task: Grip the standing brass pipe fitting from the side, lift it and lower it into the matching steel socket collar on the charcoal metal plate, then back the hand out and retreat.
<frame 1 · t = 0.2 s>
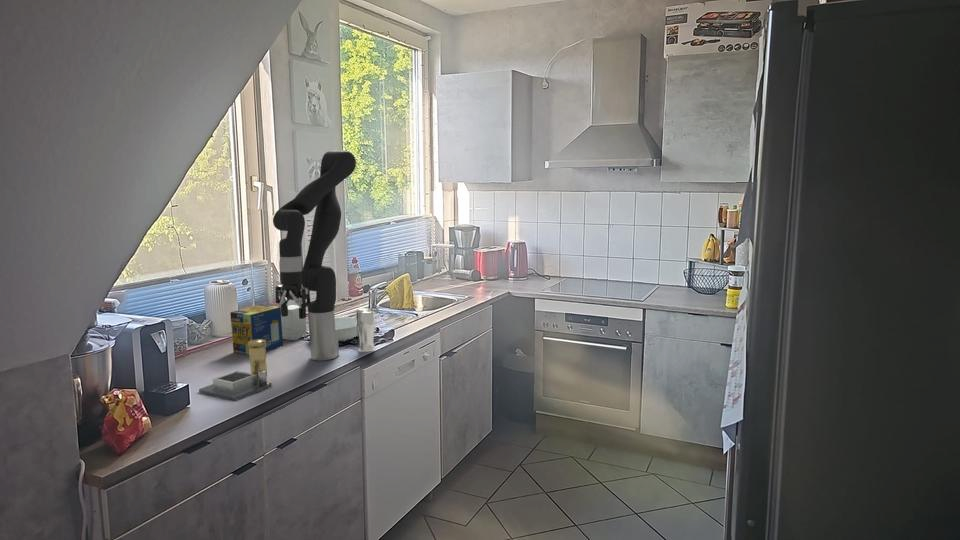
hand: (293, 317, 217), 18 cm above the worktop, tool pointing down, fingers open, 8 cm apart
supplement box: (294, 338, 259), on the worktop
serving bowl: (338, 340, 255), on the worktop
socket plate: (235, 389, 199), on the worktop
beer glass: (366, 350, 239), on the worktop
protein box: (258, 349, 243), on the worktop
brass fitting: (259, 376, 211), on the worktop
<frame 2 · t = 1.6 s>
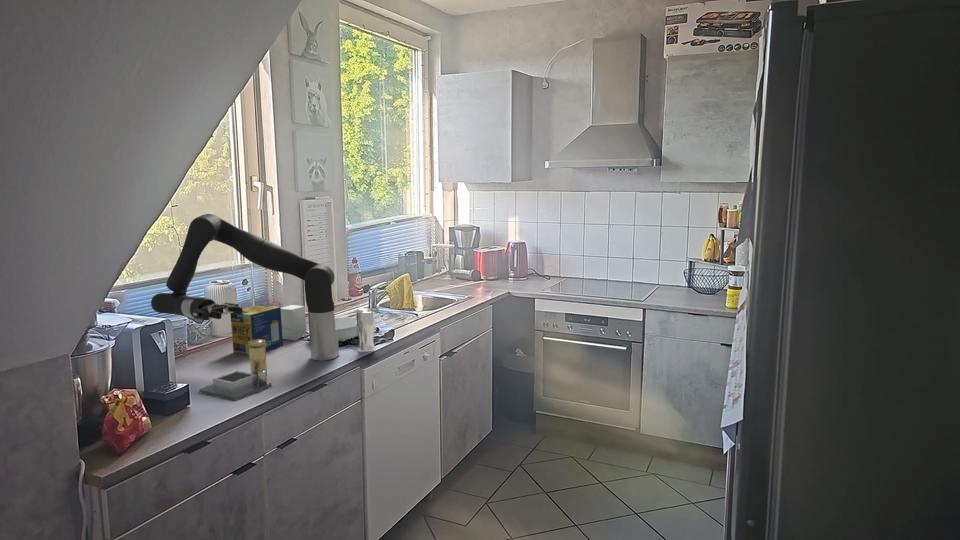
hand: (231, 313, 213), 20 cm above the worktop, tool horizontal, fingers open, 8 cm apart
nothing on the worktop moved.
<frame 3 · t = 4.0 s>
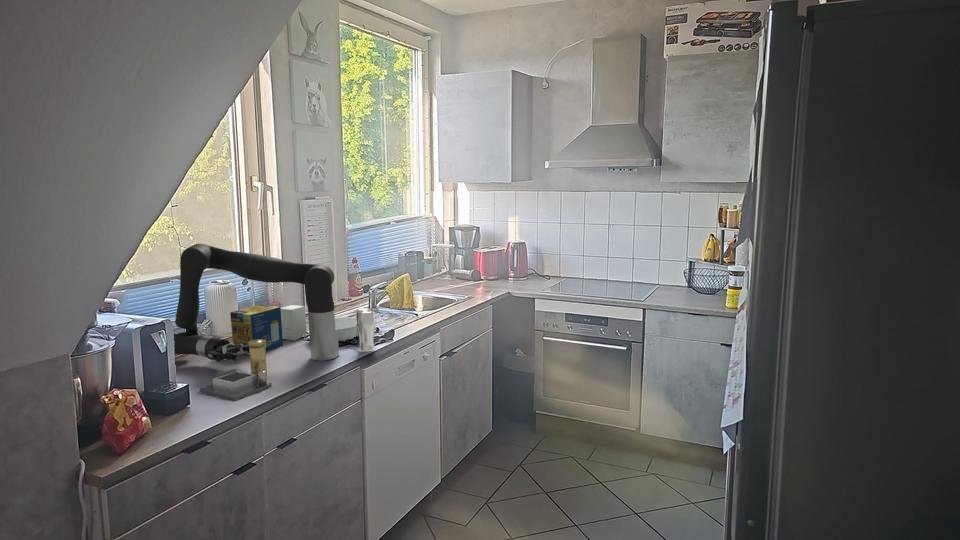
hand: (245, 353, 213), 7 cm above the worktop, tool horizontal, fingers open, 8 cm apart
nothing on the worktop moved.
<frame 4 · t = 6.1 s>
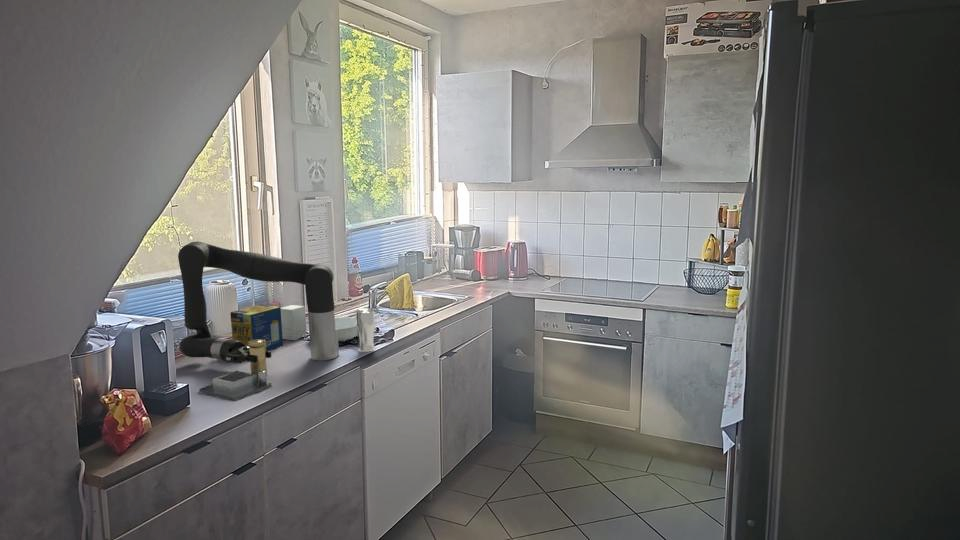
hand: (263, 357, 208), 7 cm above the worktop, tool horizontal, fingers closed on brass fitting, 5 cm apart
brass fitting: (259, 376, 211), on the worktop, touching gripper
everything else where it was.
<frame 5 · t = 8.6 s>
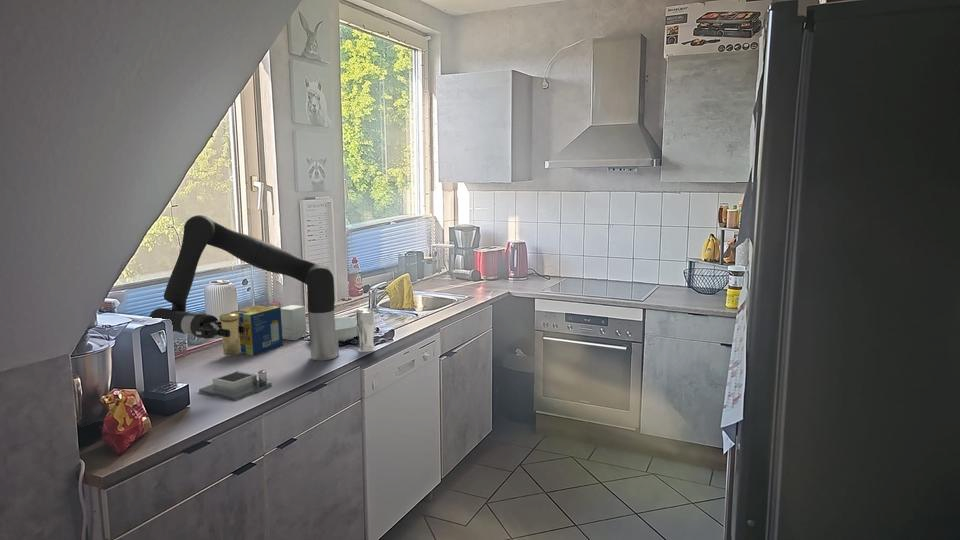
hand: (236, 331, 195), 19 cm above the worktop, tool horizontal, fingers closed on brass fitting, 5 cm apart
brass fitting: (232, 352, 197), point 12 cm above the worktop, touching gripper
everything else where it was.
when the fingers open (9 cm above the worktop, at t = 11.2 s): brass fitting drops 1 cm, resting on socket plate.
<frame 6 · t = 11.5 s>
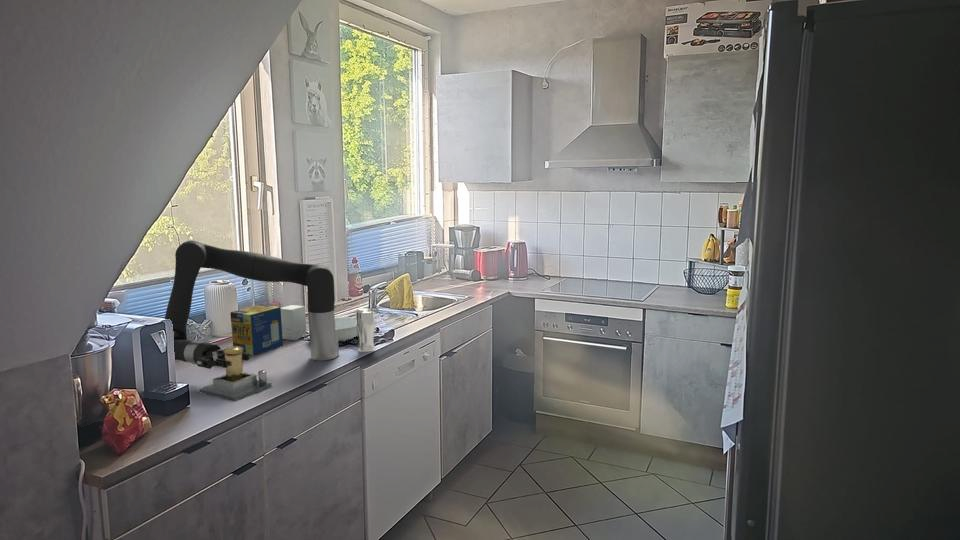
hand: (237, 360, 197), 10 cm above the worktop, tool horizontal, fingers open, 7 cm apart
brass fitting: (235, 386, 199), point 1 cm above the worktop, touching socket plate
everything else where it was.
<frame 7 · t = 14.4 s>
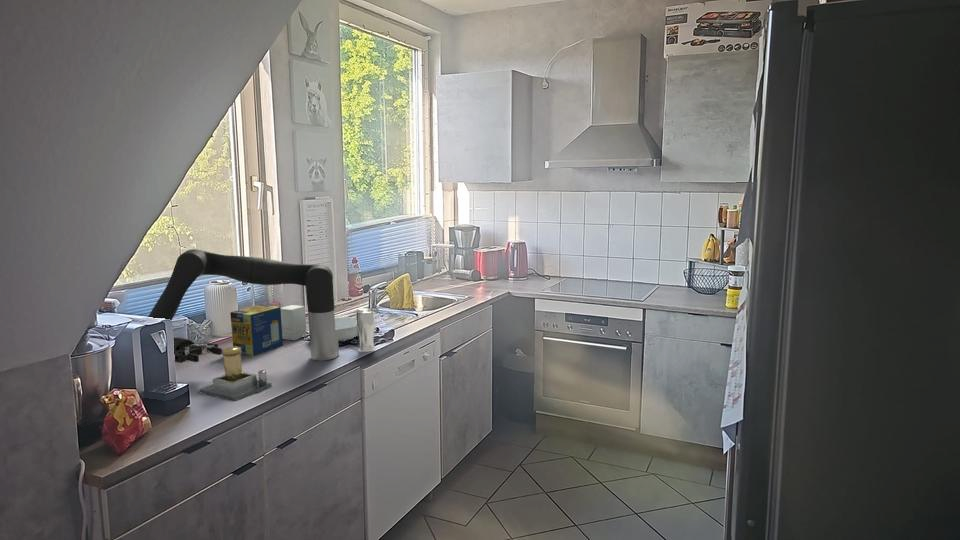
hand: (209, 355, 203), 10 cm above the worktop, tool horizontal, fingers open, 8 cm apart
nothing on the worktop moved.
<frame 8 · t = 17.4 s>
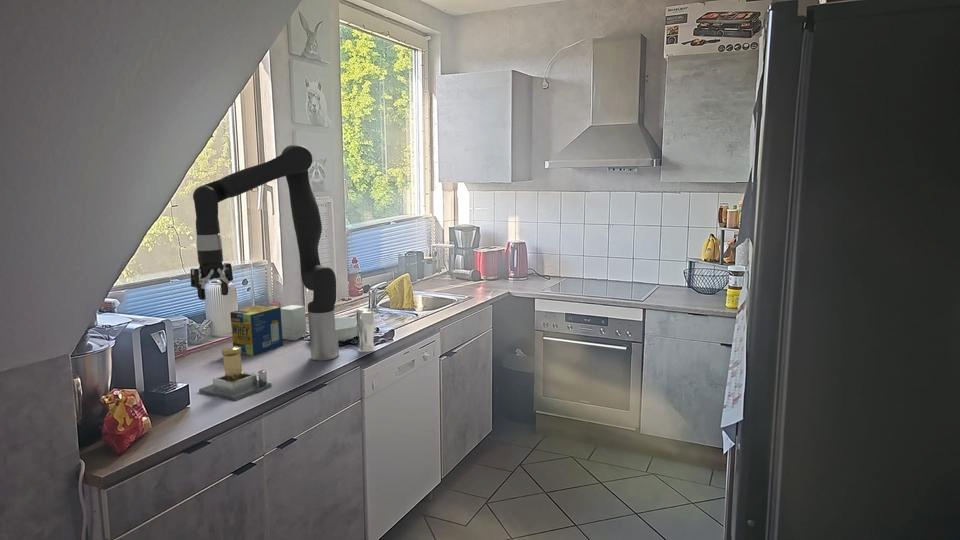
hand: (213, 297, 210), 26 cm above the worktop, tool pointing down, fingers open, 8 cm apart
nothing on the worktop moved.
at the end: brass fitting 0.1 cm off-centre on the socket plate, point 1.1 cm above the socket plate's base; brass fitting tilted 2°; the gripper is holding nothing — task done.
